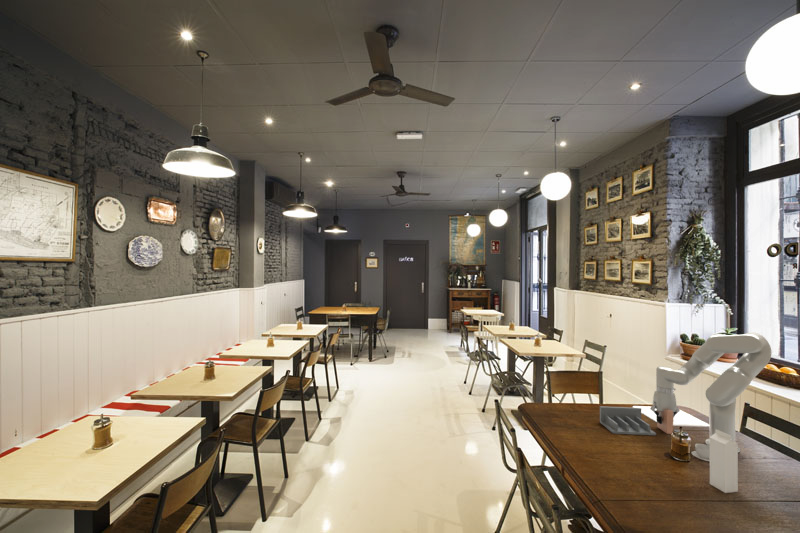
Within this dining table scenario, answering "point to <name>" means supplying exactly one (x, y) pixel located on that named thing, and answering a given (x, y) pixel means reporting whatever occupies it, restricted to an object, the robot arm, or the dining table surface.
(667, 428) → the plate block
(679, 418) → the tray
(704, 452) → the teacup
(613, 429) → the dish rack
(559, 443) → the dining table surface
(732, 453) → the milk
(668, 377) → the robot arm
